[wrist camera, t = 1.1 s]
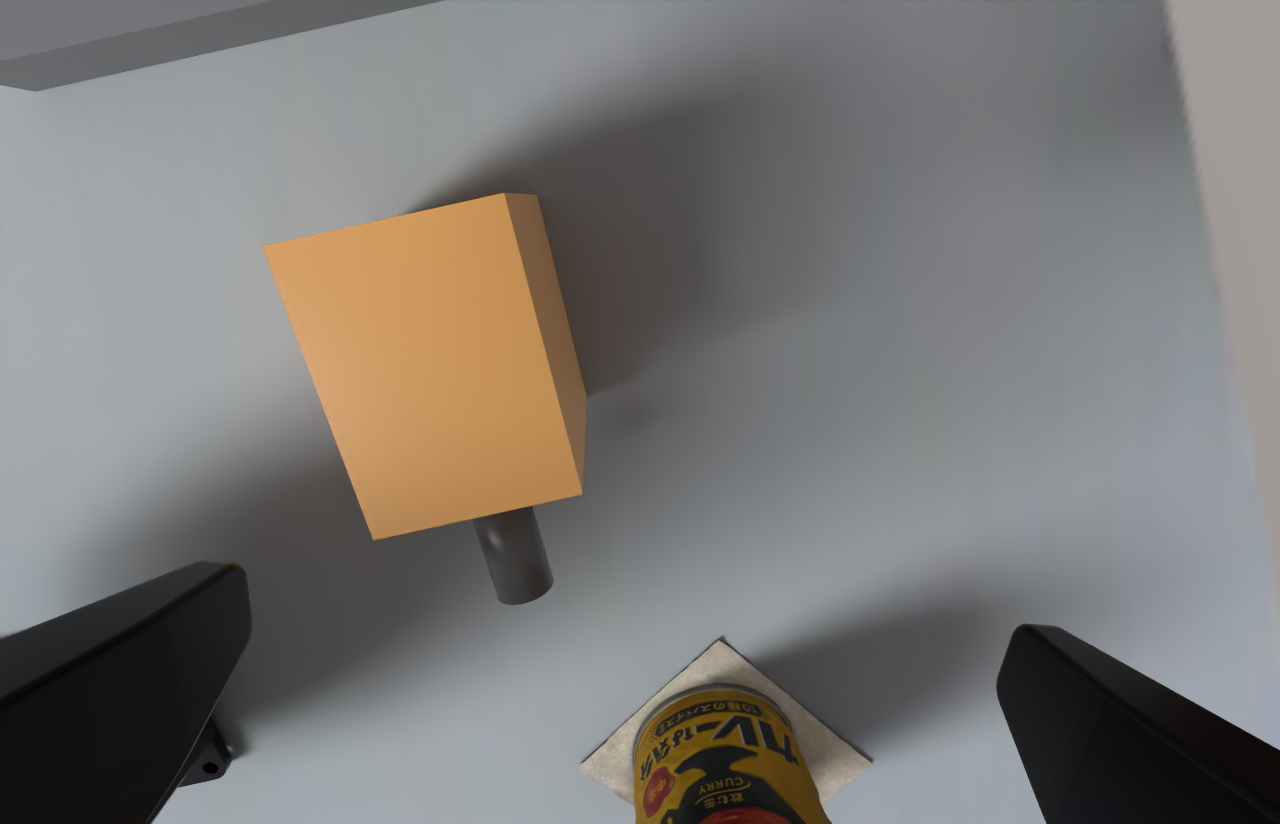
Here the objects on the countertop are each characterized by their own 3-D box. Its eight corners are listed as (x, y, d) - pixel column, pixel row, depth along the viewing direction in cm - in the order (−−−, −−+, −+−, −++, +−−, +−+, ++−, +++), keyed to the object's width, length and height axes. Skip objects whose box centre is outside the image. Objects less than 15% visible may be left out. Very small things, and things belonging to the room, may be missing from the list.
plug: (473, 515, 21) (418, 659, 15) (382, 229, 19) (261, 246, 12) (608, 485, 21) (614, 616, 15) (536, 194, 18) (504, 192, 12)
